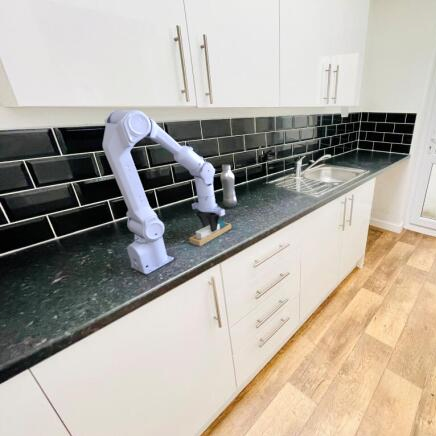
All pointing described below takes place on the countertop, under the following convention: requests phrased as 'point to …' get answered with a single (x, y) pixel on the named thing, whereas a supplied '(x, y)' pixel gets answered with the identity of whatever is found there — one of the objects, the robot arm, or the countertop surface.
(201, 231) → the marker
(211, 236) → the pen tray
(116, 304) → the countertop surface
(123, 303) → the countertop surface
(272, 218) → the countertop surface
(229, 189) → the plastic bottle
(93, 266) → the countertop surface
